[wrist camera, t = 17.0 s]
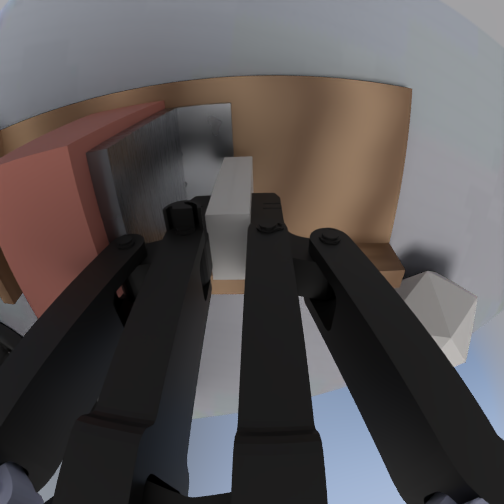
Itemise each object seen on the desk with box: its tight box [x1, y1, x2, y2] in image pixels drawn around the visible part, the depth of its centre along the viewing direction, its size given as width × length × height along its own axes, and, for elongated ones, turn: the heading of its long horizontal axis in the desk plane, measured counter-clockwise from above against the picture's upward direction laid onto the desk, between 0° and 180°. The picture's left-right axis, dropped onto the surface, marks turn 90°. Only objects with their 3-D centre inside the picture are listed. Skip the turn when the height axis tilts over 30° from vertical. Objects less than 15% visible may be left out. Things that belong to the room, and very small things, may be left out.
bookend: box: [86, 103, 234, 244], centre depth 14 cm, size 4×8×9 cm, turn 2°
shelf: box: [0, 75, 412, 304], centre depth 16 cm, size 30×12×6 cm, turn 92°
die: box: [394, 271, 477, 367], centre depth 21 cm, size 8×9×10 cm
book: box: [0, 100, 165, 319], centre depth 13 cm, size 5×9×10 cm, turn 2°
